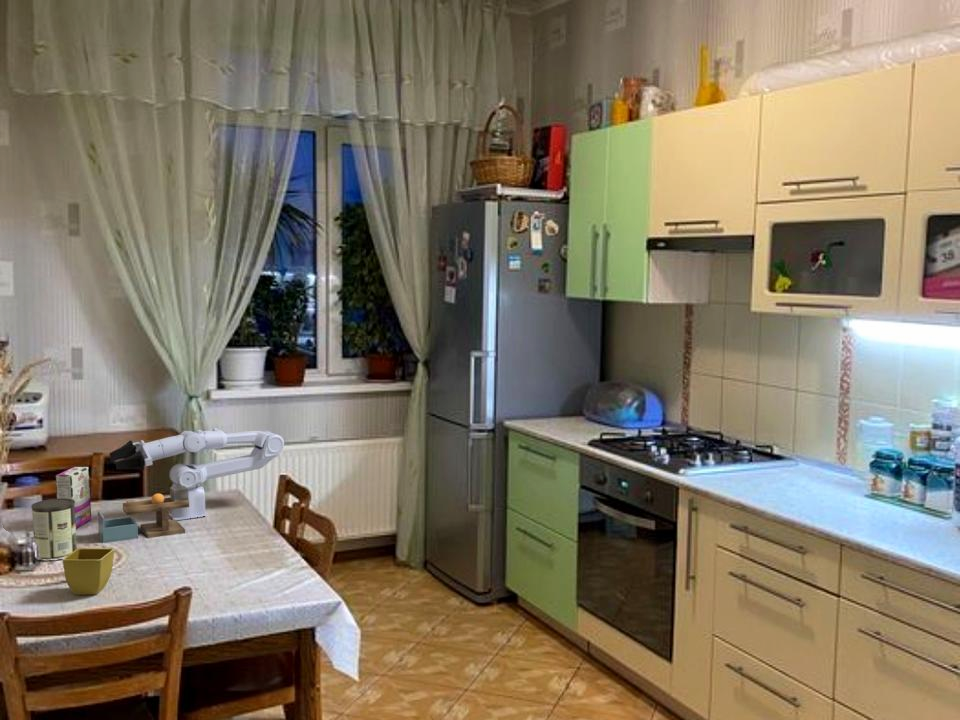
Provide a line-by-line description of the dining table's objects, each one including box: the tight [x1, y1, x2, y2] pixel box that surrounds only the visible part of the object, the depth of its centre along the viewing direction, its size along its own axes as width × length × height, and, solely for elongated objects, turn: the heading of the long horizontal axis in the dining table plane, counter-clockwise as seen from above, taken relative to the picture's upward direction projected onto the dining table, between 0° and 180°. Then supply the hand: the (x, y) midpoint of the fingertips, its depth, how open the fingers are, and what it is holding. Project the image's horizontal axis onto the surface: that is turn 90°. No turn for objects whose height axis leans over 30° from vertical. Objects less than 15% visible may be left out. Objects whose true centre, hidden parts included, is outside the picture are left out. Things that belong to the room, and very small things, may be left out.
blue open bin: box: [97, 510, 139, 544], centre depth 250 cm, size 9×9×7 cm
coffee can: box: [31, 498, 78, 560], centre depth 233 cm, size 10×10×14 cm
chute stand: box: [139, 507, 186, 539], centre depth 256 cm, size 10×12×8 cm
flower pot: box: [62, 547, 115, 596], centre depth 206 cm, size 9×9×9 cm
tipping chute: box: [122, 486, 189, 516], centre depth 258 cm, size 17×12×5 cm
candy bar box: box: [55, 466, 92, 530], centre depth 261 cm, size 11×5×16 cm, turn 179°
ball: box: [150, 493, 165, 504], centre depth 255 cm, size 4×4×4 cm
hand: (113, 461), depth 259 cm, fingers open, 7 cm apart
